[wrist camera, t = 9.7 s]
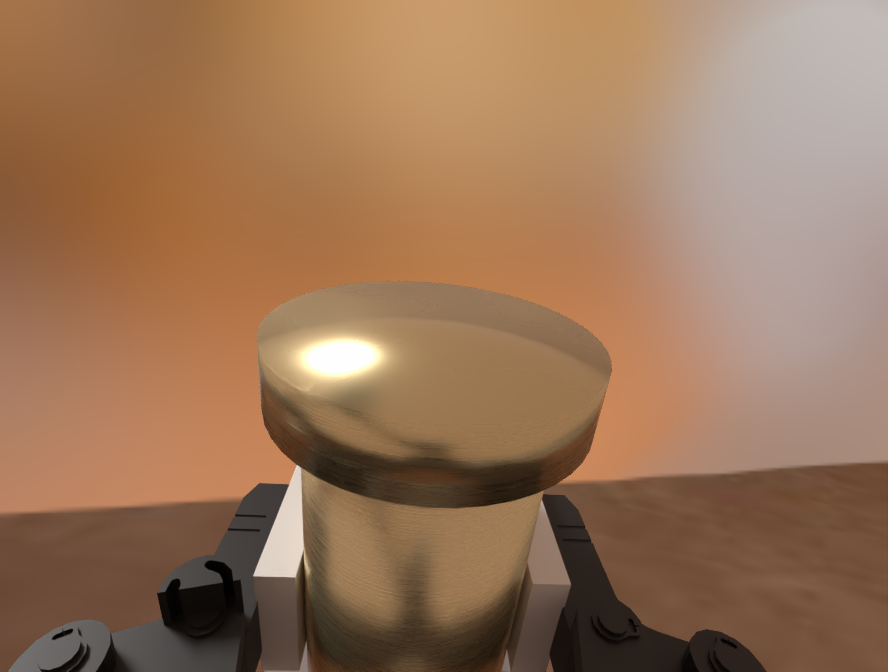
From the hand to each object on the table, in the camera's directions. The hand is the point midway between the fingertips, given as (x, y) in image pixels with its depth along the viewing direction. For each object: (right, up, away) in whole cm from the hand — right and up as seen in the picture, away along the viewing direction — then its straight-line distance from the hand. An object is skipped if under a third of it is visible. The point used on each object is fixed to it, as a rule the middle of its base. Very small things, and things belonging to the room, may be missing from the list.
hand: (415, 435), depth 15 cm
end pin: (0, -9, -2) cm, 9 cm away
